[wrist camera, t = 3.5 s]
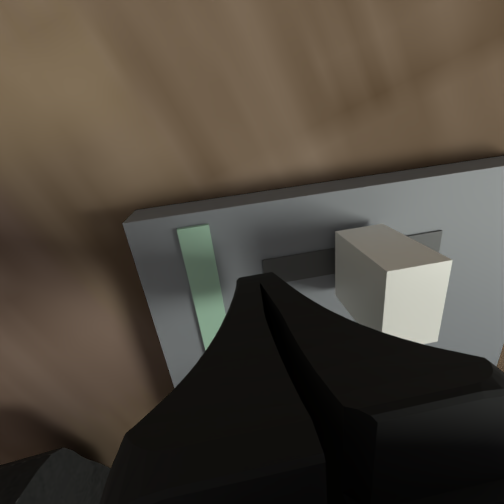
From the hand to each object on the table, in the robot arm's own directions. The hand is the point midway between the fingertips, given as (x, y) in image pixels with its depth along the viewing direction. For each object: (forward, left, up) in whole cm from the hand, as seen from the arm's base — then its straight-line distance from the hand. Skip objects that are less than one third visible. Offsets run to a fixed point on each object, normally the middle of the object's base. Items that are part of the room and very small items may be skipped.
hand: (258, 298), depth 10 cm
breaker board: (-4, +7, -4) cm, 9 cm away
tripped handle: (-5, 0, -2) cm, 5 cm away
